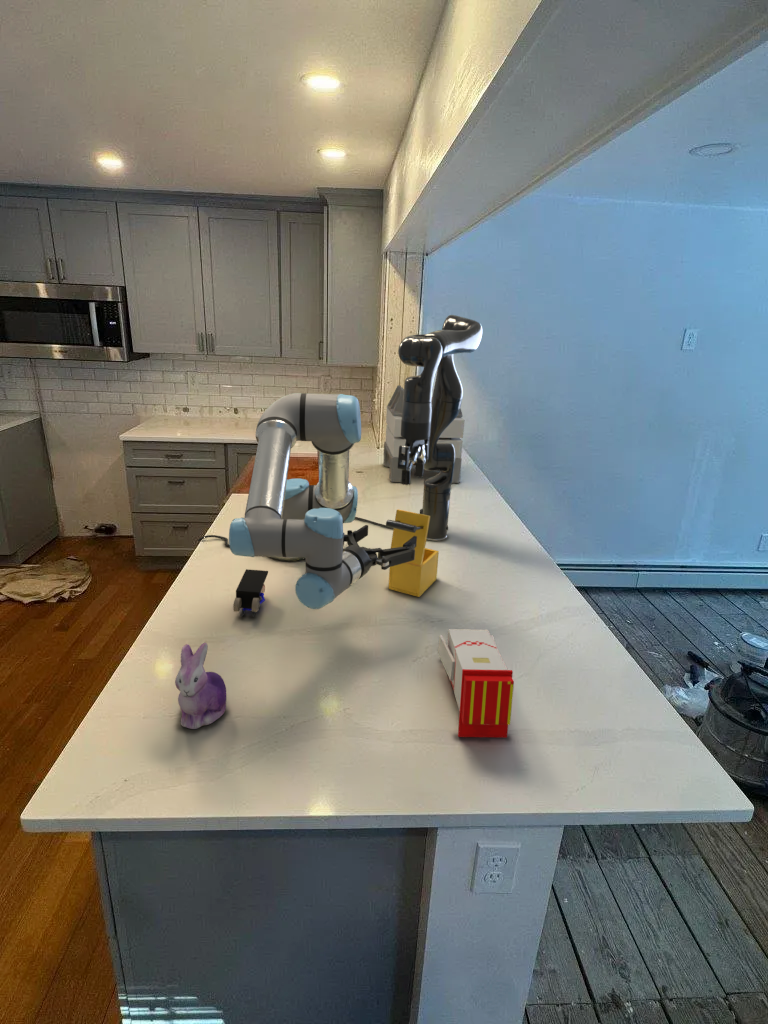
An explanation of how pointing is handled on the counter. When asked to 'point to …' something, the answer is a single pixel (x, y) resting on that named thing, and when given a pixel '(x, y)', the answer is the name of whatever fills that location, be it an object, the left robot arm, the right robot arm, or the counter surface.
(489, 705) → the toy
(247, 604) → the figurine character
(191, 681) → the figurine
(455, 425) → the grey storage bin
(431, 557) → the chest
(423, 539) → the yellow handled panel
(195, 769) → the counter surface
